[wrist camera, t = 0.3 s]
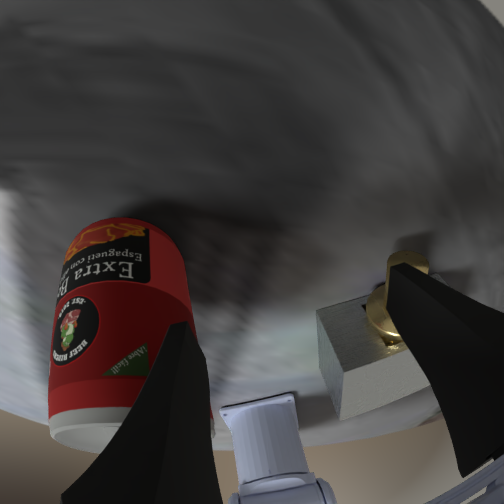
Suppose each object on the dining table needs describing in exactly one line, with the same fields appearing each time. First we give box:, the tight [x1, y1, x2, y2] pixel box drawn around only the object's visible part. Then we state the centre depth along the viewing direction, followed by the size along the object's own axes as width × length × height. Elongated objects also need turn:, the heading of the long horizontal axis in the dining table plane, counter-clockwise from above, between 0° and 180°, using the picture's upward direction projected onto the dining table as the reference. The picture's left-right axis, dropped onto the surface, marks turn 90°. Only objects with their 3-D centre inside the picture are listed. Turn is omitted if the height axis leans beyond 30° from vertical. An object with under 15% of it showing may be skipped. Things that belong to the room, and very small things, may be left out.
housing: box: [316, 273, 451, 421], centre depth 24 cm, size 8×12×6 cm, turn 100°
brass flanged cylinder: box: [366, 251, 429, 347], centre depth 22 cm, size 10×6×6 cm, turn 10°
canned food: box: [48, 218, 215, 453], centre depth 15 cm, size 8×8×11 cm
